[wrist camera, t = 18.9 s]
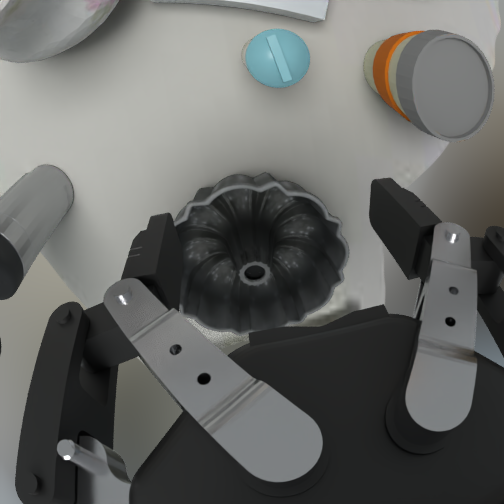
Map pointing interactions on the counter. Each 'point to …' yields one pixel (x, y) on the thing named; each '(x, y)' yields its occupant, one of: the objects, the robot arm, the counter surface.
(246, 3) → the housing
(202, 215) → the bundt pan
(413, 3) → the counter surface
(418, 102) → the reusable coffee cup
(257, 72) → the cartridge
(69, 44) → the ceramic pitcher
